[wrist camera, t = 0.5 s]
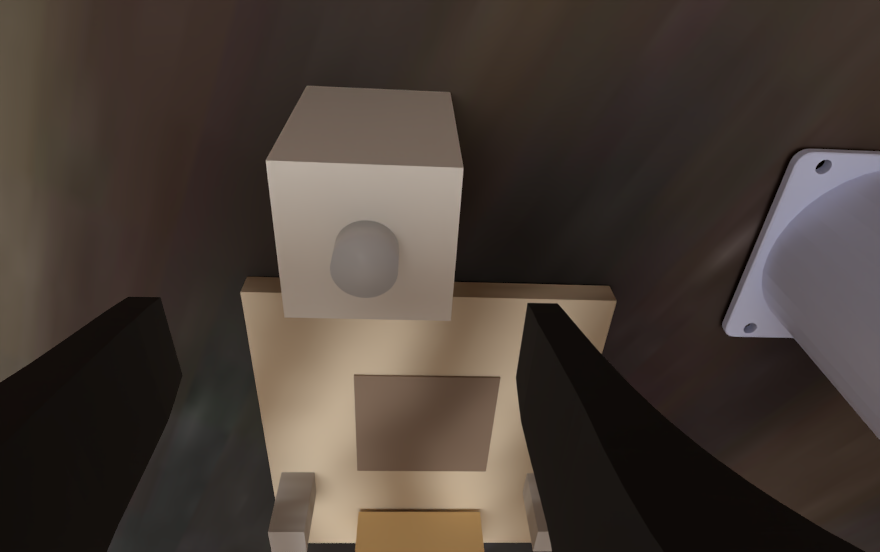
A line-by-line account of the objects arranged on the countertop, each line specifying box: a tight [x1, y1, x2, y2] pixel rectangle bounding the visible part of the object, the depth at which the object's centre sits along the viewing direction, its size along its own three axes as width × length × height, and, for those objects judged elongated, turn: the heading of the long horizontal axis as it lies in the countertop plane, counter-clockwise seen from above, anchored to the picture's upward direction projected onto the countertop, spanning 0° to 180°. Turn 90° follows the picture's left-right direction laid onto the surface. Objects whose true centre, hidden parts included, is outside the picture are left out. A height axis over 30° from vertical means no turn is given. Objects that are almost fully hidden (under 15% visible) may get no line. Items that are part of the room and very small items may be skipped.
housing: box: [266, 86, 464, 321], centre depth 16 cm, size 4×4×7 cm
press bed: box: [240, 277, 617, 552], centre depth 25 cm, size 14×16×4 cm
